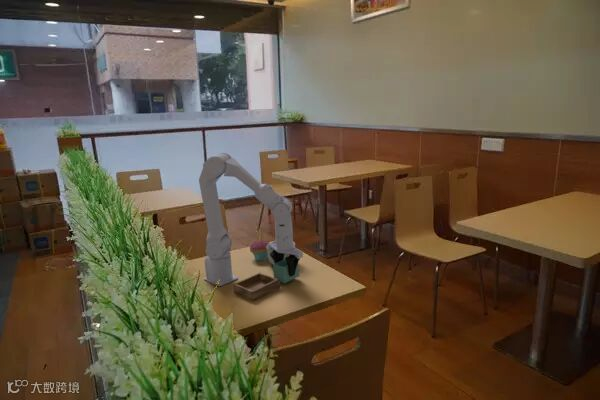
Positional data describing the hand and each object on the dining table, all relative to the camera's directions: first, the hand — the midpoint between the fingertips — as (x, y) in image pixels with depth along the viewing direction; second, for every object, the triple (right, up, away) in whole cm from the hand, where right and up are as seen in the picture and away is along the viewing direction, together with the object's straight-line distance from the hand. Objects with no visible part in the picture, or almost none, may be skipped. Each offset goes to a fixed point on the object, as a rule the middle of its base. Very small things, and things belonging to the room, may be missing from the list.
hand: (286, 273), depth 138 cm
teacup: (-2, +1, +17) cm, 17 cm away
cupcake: (-10, +2, +22) cm, 25 cm away
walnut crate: (-9, -5, -5) cm, 12 cm away
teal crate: (0, -2, 0) cm, 2 cm away
